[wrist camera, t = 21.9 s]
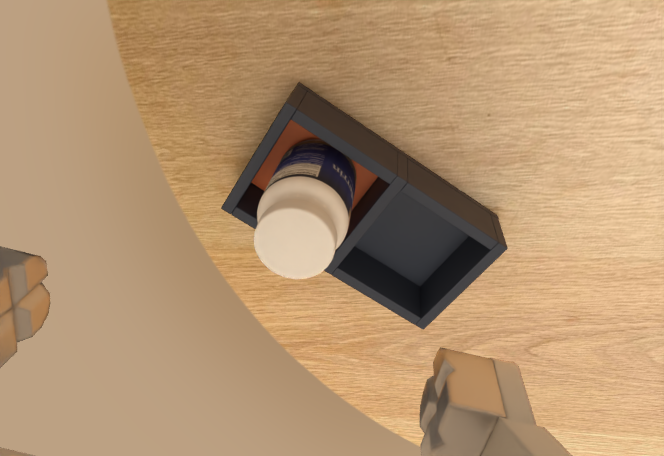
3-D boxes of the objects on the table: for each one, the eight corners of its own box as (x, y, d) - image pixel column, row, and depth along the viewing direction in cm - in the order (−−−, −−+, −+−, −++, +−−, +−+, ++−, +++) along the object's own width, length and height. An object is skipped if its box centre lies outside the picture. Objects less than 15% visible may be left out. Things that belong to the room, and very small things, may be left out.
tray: (238, 180, 40) (220, 208, 36) (298, 81, 35) (285, 101, 31) (421, 292, 43) (423, 330, 39) (497, 215, 38) (508, 248, 34)
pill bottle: (364, 202, 38) (353, 282, 30) (291, 213, 40) (260, 293, 31) (348, 129, 36) (330, 193, 27) (270, 143, 37) (229, 209, 28)
